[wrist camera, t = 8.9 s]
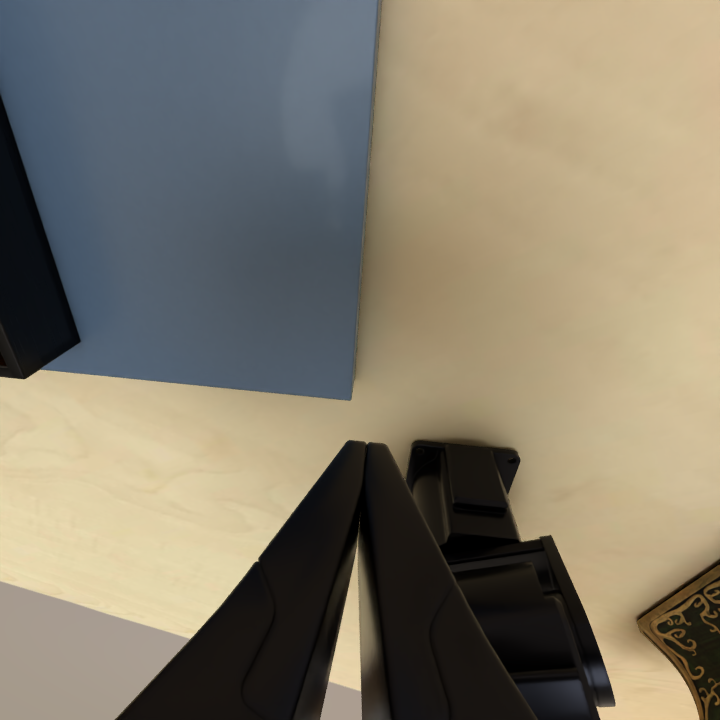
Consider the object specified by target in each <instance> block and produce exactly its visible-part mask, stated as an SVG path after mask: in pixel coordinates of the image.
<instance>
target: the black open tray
mask: <svg viewBox="0 0 720 720" xmlns="http://www.w3.org/2000/svg"><path fill="white" fill-rule="evenodd" d="M80 342H81V340H80V337H79V334H78V331H77V328H76V325H75V322H74V319H73V316H72V313H71V310H70V307H69V304H68V301H67V297H66V294H65V291H64V288H63V285H62V282H61V279H60V276H59V273H58V270H57V267H56V264H55V261H54V258H53V255H52V251H51V248H50V245H49V242H48V239H47V236H46V233H45V230H44V227H43V224H42V221H41V218H40V215H39V212H38V209H37V206H36V202H35V199H34V196H33V193H32V190H31V187H30V184H29V181H28V178H27V175H26V172H25V169H24V166H23V163H22V160H21V157H20V153H19V150H18V147H17V144H16V141H15V138H14V135H13V132H12V129H11V126H10V123H9V120H8V117H7V114H6V111H5V108H4V104H3V101H2V98H1V95H0V377H8V378H17V379H26V378H28V377H29V376H31V375H32V374H34V373H35V372H37V371H38V370H40V369H41V368H43V367H44V366H46V365H47V364H49V363H50V362H52V361H53V360H55V359H56V358H58V357H59V356H61V355H62V354H64V353H65V352H67V351H68V350H70V349H71V348H73V347H74V346H76V345H77V344H79V343H80Z"/></svg>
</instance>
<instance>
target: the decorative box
mask: <svg viewBox="0 0 720 720" xmlns="http://www.w3.org/2000/svg"><path fill="white" fill-rule="evenodd" d="M637 624H638V628H639V630H640V632H641V633H642V634H643V635H644V636H645V637H646V638H647V639H648V640H649V641H650V642H651V643H652V644H653V645H654V646H655V647H656V648H657V649H658V650H659V651H660V652H661V653H663V654H664V655H665V656H666V658H667V659H668V660H669V661H670V662H671V663H672V664H673V665H674V667H675V668H676V669H677V670H678V672H679V673H680V675H681V676H682V677H683V679H684V681H685V682H686V684H687V686H688V688H689V690H690V692H691V694H692V696H693V698H694V701H695V704H696V707H697V710H698V714H699V719H700V720H720V564H719V565H718V566H716V567H715V568H713V569H712V570H710V571H709V572H708V573H706V574H705V575H703V576H702V577H700V578H699V579H697V580H696V581H694V582H693V583H691V584H690V585H689V586H687V587H686V588H684V589H683V590H681V591H680V592H678V593H677V594H675V595H674V596H672V597H671V598H669V599H668V600H667V601H665V602H664V603H662V604H661V605H659V606H658V607H656V608H655V609H653V610H652V611H650V612H649V613H648V614H646V615H645V616H643V617H642V618H641V619H639V620H638V621H637Z"/></svg>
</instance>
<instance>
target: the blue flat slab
mask: <svg viewBox="0 0 720 720" xmlns="http://www.w3.org/2000/svg"><path fill="white" fill-rule="evenodd" d="M381 5H382V0H0V95H1V98H2V101H3V104H4V108H5V111H6V114H7V117H8V120H9V123H10V126H11V129H12V132H13V135H14V138H15V141H16V144H17V147H18V150H19V153H20V157H21V160H22V163H23V166H24V169H25V172H26V175H27V178H28V181H29V184H30V187H31V190H32V193H33V196H34V199H35V202H36V206H37V209H38V212H39V215H40V218H41V221H42V224H43V227H44V230H45V233H46V236H47V239H48V242H49V245H50V248H51V251H52V255H53V258H54V261H55V264H56V267H57V270H58V273H59V276H60V279H61V282H62V285H63V288H64V291H65V294H66V297H67V301H68V304H69V307H70V310H71V313H72V316H73V319H74V322H75V325H76V328H77V331H78V334H79V337H80V340H81V342H80V343H79V344H77V345H76V346H74V347H73V348H71V349H70V350H68V351H67V352H65V353H64V354H62V355H61V356H59V357H58V358H56V359H55V360H53V361H52V362H50V363H49V364H47V365H46V366H44V367H43V368H41V369H40V370H50V371H60V372H70V373H80V374H90V375H100V376H110V377H120V378H130V379H140V380H150V381H159V382H169V383H179V384H189V385H199V386H209V387H219V388H229V389H239V390H249V391H259V392H269V393H279V394H289V395H299V396H309V397H319V398H328V399H338V400H348V401H350V400H351V398H352V392H353V386H354V380H355V366H356V352H357V338H358V324H359V310H360V297H361V283H362V269H363V255H364V241H365V227H366V213H367V199H368V186H369V172H370V158H371V144H372V130H373V116H374V102H375V89H376V75H377V61H378V47H379V33H380V19H381Z"/></svg>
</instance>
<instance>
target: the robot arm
mask: <svg viewBox="0 0 720 720" xmlns="http://www.w3.org/2000/svg"><path fill="white" fill-rule="evenodd" d="M366 448H367V450H366ZM418 448H421V450H417V449H418ZM510 458H513V459H510ZM519 464H520V457H519V455H518V453H517V452H516V451H513V450H506V449H496V448H486V447H477V446H467V445H457V444H448V443H438V442H428V441H415V442H414V443H412V445H411V449H410V455H409V461H408V466H407V472H406V477H405V480H404V478H403V476H402V474H401V472H400V470H399V468H398V466H397V464H396V462H395V460H394V458H393V456H392V454H391V452H390V450H389V448H388V446H387V445H386V444H383V443H373V442H369V443H368V444H366V442H364V441H354V440H349V441H347V442H346V443H345V445H344V446H343V447H342V449H341V450H340V451H339V453H338V454H337V455H336V457H335V458H334V459H333V461H332V462H331V463H330V465H329V466H328V467H327V468H326V470H325V471H324V472H323V474H322V475H321V476H320V478H319V479H318V480H317V482H316V483H315V484H314V486H313V487H312V488H311V489H310V491H309V492H308V493H307V495H306V496H305V497H304V499H303V500H302V501H301V503H300V504H299V505H298V507H297V508H296V509H295V511H294V512H293V513H292V514H291V516H290V517H289V518H288V520H287V521H286V522H285V524H284V525H283V526H282V528H281V529H280V530H279V532H278V533H277V534H276V536H275V537H274V538H273V539H272V541H271V542H270V543H269V545H268V546H267V547H266V549H265V550H264V551H263V553H262V554H261V555H260V557H259V558H258V561H256V562H255V563H254V564H253V565H252V567H251V568H250V569H249V571H248V572H247V573H246V575H245V576H244V577H243V579H242V580H241V581H240V582H239V584H238V585H237V586H236V587H235V589H234V590H233V591H232V592H231V594H230V595H229V596H228V597H227V598H226V600H225V601H224V602H223V603H222V605H221V606H220V607H219V608H218V609H217V610H216V612H215V613H214V614H213V615H212V616H211V617H210V618H209V619H208V620H207V622H206V623H205V624H204V625H203V626H202V627H201V628H200V629H199V630H198V632H197V633H196V634H195V635H194V636H193V637H192V638H191V639H190V640H189V642H188V643H187V644H186V645H185V646H184V647H183V648H182V649H181V650H180V651H179V652H178V653H177V654H176V655H175V656H174V657H173V658H172V659H171V661H170V662H169V663H168V664H167V665H166V666H165V667H164V668H163V669H162V670H161V671H160V672H159V673H158V674H157V675H156V677H155V678H154V679H153V680H152V681H151V682H150V683H149V684H148V685H147V686H146V687H145V688H144V690H143V691H141V692H140V694H139V695H138V696H137V697H136V698H135V699H134V700H133V701H132V702H131V703H130V704H129V705H128V706H127V707H126V709H125V710H124V711H123V712H122V713H121V714H120V715H119V716H118V717H117V718H116V719H115V720H320V717H321V712H322V708H323V703H324V698H325V693H326V689H327V684H328V680H329V675H330V670H331V666H332V661H333V656H334V652H335V647H336V642H337V638H338V633H339V629H340V624H341V619H342V615H343V610H344V605H345V601H346V596H347V591H348V587H349V582H350V577H351V573H352V568H353V563H354V559H355V553H356V548H357V541H358V585H359V622H360V658H361V694H362V720H600V718H599V714H598V711H597V708H596V706H598V707H613V706H615V699H614V695H613V691H612V687H611V684H610V681H609V677H608V674H607V671H606V668H605V665H604V662H603V659H602V656H601V653H600V650H599V648H598V645H597V642H596V639H595V636H594V634H593V631H592V628H591V626H590V623H589V621H588V618H587V616H586V613H585V611H584V608H583V606H582V604H581V601H580V599H579V597H578V594H577V592H576V590H575V588H574V585H573V583H572V581H571V579H570V577H569V574H568V572H567V570H566V568H565V565H564V563H563V561H562V559H561V556H560V554H559V552H558V550H557V547H556V545H555V543H554V541H553V538H552V536H551V535H549V536H542V537H540V539H536V540H530V541H523V542H522V541H521V538H520V535H519V531H518V528H517V525H516V522H515V519H514V515H513V512H512V509H511V506H510V502H509V499H508V496H507V495H508V493H509V490H510V487H511V485H512V482H513V479H514V477H515V474H516V472H517V469H518V466H519ZM360 512H361V513H360ZM359 522H360V524H359ZM358 532H359V535H358Z"/></svg>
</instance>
